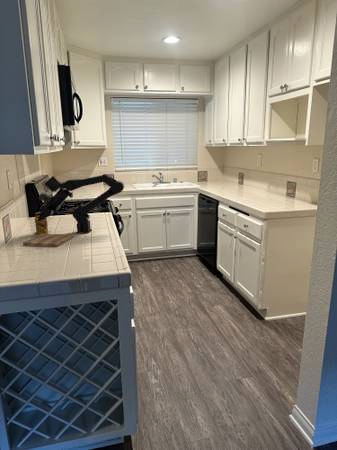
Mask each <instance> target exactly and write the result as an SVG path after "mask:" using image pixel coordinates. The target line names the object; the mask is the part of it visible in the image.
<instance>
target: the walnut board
mask: <svg viewBox="0 0 337 450" xmlns="http://www.w3.org/2000/svg"><path fill="white" fill-rule="evenodd" d="M73 238H74V234H68V233H67V234H65V233H64V234H63V233H62V234H61V233H59V234H58V233H49V234H40V235H35V236H34V237H31V238H30V239H28V240H26V241H23V242H22V243H23V244H22V245H23V246H25V247H29V246H30V247H48V248H53V247H54V248H58V247H59V246H61V245H63V244H65V243H66V242H68V241H70V240H72V239H73Z"/></svg>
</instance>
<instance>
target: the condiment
mask: <svg viewBox="0 0 337 450" xmlns="http://www.w3.org/2000/svg"><path fill="white" fill-rule="evenodd" d="M40 214H41V211H37V212H35V213H34V224H35V231H34V232H33V233H32V234H31V237H32V236H34V237H35V236H38V235H40V234H50V232H51V231H49V227H48V219H47V218H48V217H47V218H45V219H42V220H40V221H38V218H39V216H40Z"/></svg>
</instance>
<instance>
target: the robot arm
mask: <svg viewBox="0 0 337 450" xmlns="http://www.w3.org/2000/svg"><path fill="white" fill-rule="evenodd" d="M101 183H104V184H106V185H107V186H108V187H109V188H108V189H107V190H105V191H104V192H103V193H101V194H100V195H98V196H97V197H95V198H94V199H92V200H91V201H89V202H88V203H85V204H84V203H81V204H80V205H78V206H76V207H75V208H74V210H73V211H72V217H73V218H74V220H76V230H77V231H76V234H88V233H90V232H92V231H93V229H91V220H90V217H91V215H90V214H88V213H89V212H90V211H91V210H93V209H94V208H95V207H97V206H98V205H100V204H101V203H103V202H105V201H106V200H108V199H109V198H111V197H112V196H115V195H117V194H120V193H122V192H123V190H124V189H125V184H124V183H123V181H120V180H116V179H115V178H113V177H111V176H109V174H107V173H103V174H101V175H97V176H91V177H87V178H70V179H68V180H66V181H62V182H61V181H60V180H58V179H57V178H56V177H55V175H52V176H51V177H50V178H49V179H48V180H46V181H45V182H44V184H43V186H45V187H46V188H47V189H48V190H49V191H50V192H52V193H54V192H55V194H53V196H52V195H50V194H48V193H45V192H42V193H40V194H39V196H38V200H39V201H43V202H46V204H43V205H41V206H40V207H39V210H40V212H41V214H40V216H39V218H38V221H40V220H42V219H45V218H49V217H50V216H52V215H53V214H54V213H56V212H58V211H59V209H60V208H61V207H62V206H61V205H62V204H64V202H65V201H66V200H67V198H71V199H72V198H73V197H74V192H73V191H75V190H77V189H80V188H81V187H86V186H90V185H95V184H101Z"/></svg>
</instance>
